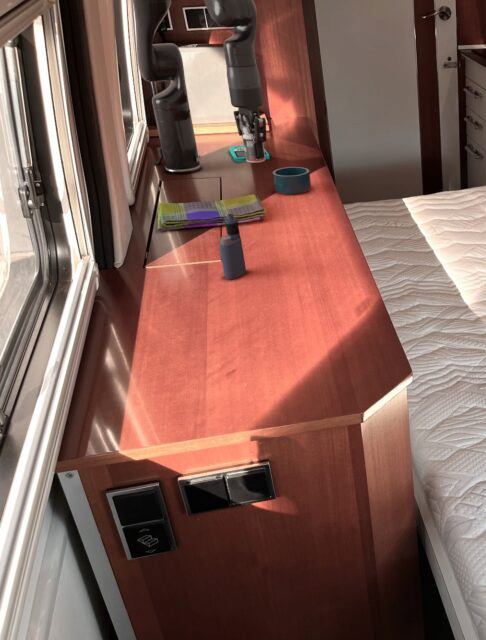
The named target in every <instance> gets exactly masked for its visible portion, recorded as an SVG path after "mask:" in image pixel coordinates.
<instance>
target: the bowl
mask: <svg viewBox="0 0 486 640" xmlns="http://www.w3.org/2000/svg"><path fill="white" fill-rule="evenodd" d="M272 179H273V186H274V191H275V192H277V193H280V194H282V195H287V196H288V195H294V196H295V195H300V194H304V193H306V192H308V191H310V190H311V189H312V182H311V172H310V170H309V169H308V168H306V167H301V166H288V167H287V166H286V167H280V168H278V169H275V170H273V171H272Z"/></svg>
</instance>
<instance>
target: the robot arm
mask: <svg viewBox="0 0 486 640" xmlns="http://www.w3.org/2000/svg"><path fill="white" fill-rule="evenodd" d="M172 2H173V0H132V5H133V10H134V11H133V12H134V19H135V20H134V21H135V35H136V37H135V38H136V39H135V41H136V57H137V58H136V59H137V66H138V70H139V73H140V76H141V77H142V79H143V80H144V81H146V82H149V83H157V82H159V83H160V82H168V81H169V82H170V84H169V86H167V88H165V89H164V90H162V91H161V92H159V93H156V94H154V95H153V96H152V98H151V103H152V108H153V114H154V117H155V123H156V127H157V132H158V137H159V142H160V147H156V150H157V155H158V160H155V159H153V160H152V163H153V164H155V165H161V163H162V160H163V163H164V168H165V172H166V173H170V174H178V175H179V174H180V175H181V174H190V173H194V172H197V171H200V170H201V169H202V166H201V162H200V160H201V155H200V154H199V151H198V146H197V141H196V135H195V129H194V125H193V119H192V114H191V109H190V108H191V107H190V103H189V96H188V90H187V84H186V77H185V67H184V61H183V56H182V53H181V50H180V49H179V47H178V45H176V44H175V43H172V42H170V43H168V42H166V43H154V38H155V34H156V32H157V30H158V28H159V26H160V25H161V23H162V22H163V20H164V18H166V15H167V14H168V12H169V10H170V8H171V5H172ZM203 2H204V4H205V7H206V9H207V11H208V13H209V16H210V18H211V19H212V20H213V21H214V22H215V23H216V24H217V25H218V26H219V27H222V28H225V29H228V28H229V29H231V28H233V31H232V32H233V33H232V36H229V37H228V38H227V39H224V41H223V54H224V60H225V66H226V78H227V87H228V92H229V98H230V104H231V106H232V107H234V108H237V109H238V110H234V111H233V116H234V120H235V124H236V125H235V126H236V129H237V132H238V135H239V136H240V137H241V138H242V140H243V135H244V134H245V133H243V127H244V126H245V127H247V131H248V134H249V135H251V138H252V142H253V148H254V155H255V158H256V159H263V158H264V150H263V144H265V143H264V142H267V119H266V118H265V117H261V114H260V111H259V107H261V106H263V104H264V96H263V91H262V84H261V83H262V82H261V76H260V71H259V68H258V63H257V56H256V48H255V44H256V37H257V36H256V35H257V27H258V12H257V11H258V9H257V7H256V4H255V2H254V0H203ZM251 129H255V130H251ZM254 134H255V135H254Z"/></svg>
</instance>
